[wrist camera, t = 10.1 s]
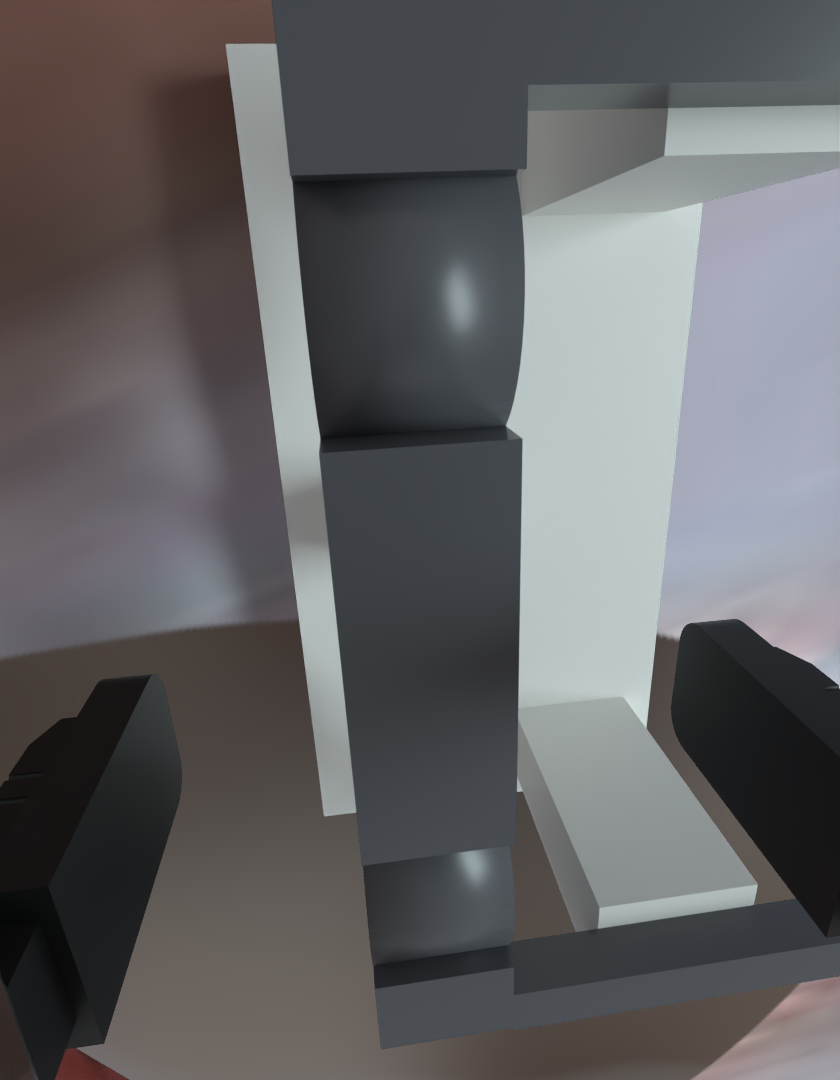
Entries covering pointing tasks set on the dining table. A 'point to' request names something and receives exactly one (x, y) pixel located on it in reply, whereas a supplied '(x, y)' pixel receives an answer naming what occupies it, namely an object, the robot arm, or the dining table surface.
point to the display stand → (558, 466)
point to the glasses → (479, 463)
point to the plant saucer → (84, 1068)
